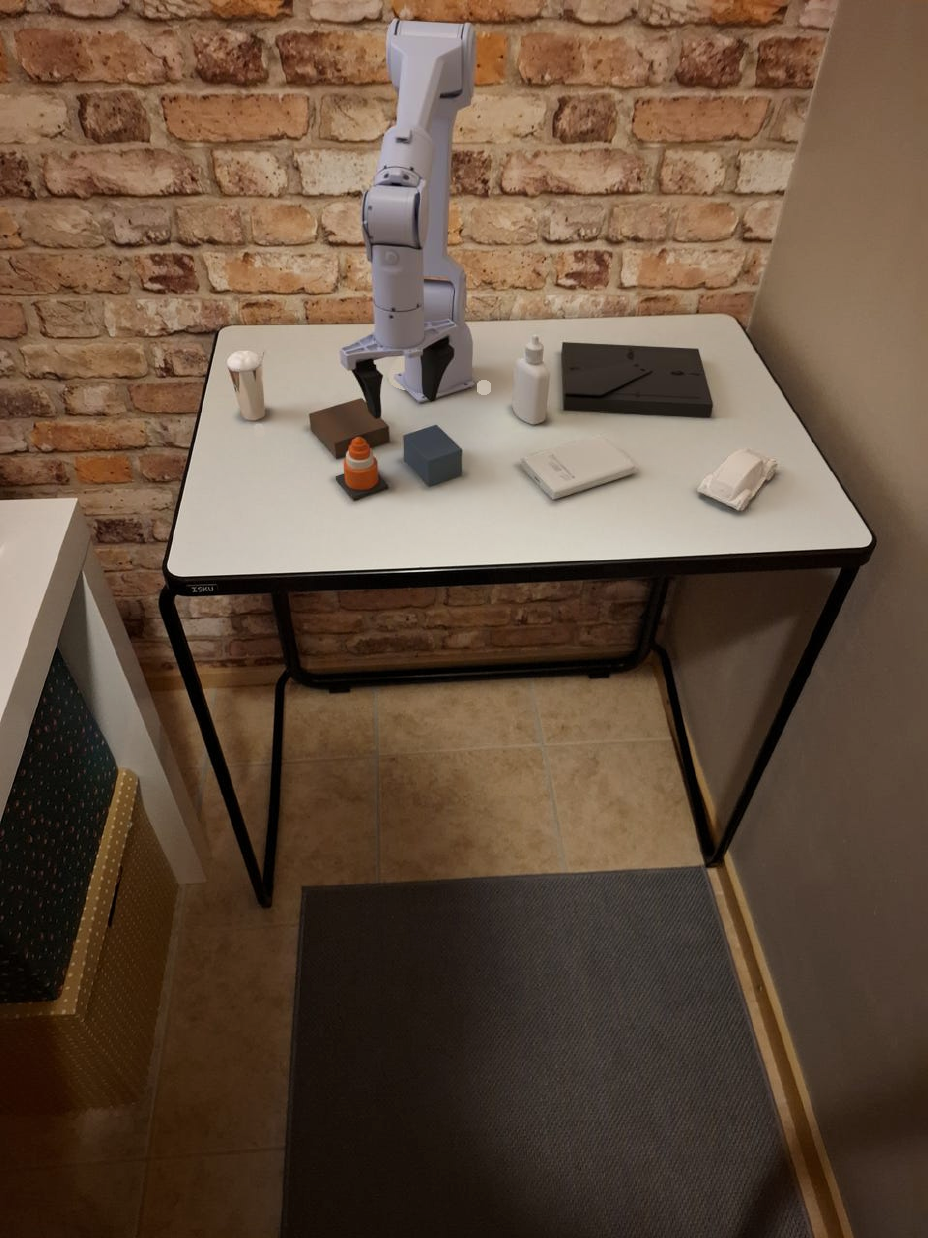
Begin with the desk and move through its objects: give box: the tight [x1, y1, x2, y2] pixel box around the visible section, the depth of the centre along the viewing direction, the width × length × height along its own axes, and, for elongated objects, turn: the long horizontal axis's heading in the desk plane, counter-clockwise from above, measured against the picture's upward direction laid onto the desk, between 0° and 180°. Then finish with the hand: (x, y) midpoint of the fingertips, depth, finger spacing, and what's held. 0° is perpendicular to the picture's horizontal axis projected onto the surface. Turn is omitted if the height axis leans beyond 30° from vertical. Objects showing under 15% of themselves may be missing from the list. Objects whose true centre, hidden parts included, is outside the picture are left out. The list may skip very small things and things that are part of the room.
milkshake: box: [226, 349, 266, 421], centre depth 116 cm, size 4×5×10 cm
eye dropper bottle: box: [511, 333, 551, 425], centre depth 116 cm, size 4×6×12 cm
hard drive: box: [520, 433, 637, 500], centre depth 111 cm, size 2×8×12 cm
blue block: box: [402, 424, 463, 488], centre depth 110 cm, size 5×6×4 cm
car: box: [696, 447, 779, 512], centre depth 108 cm, size 12×6×5 cm, turn 140°
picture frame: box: [560, 341, 714, 418], centre depth 126 cm, size 16×3×21 cm
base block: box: [308, 397, 391, 460], centre depth 115 cm, size 8×8×2 cm
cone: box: [335, 437, 390, 501], centre depth 106 cm, size 5×5×7 cm
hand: (402, 405), depth 106 cm, fingers open, 7 cm apart
